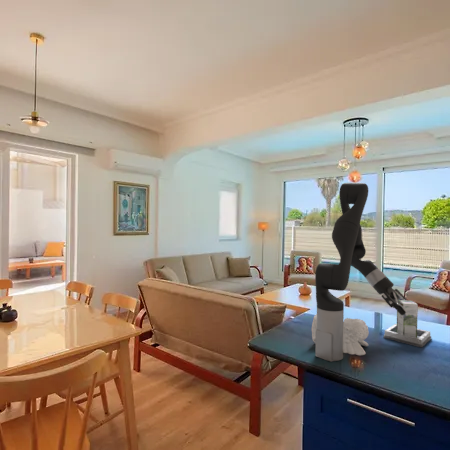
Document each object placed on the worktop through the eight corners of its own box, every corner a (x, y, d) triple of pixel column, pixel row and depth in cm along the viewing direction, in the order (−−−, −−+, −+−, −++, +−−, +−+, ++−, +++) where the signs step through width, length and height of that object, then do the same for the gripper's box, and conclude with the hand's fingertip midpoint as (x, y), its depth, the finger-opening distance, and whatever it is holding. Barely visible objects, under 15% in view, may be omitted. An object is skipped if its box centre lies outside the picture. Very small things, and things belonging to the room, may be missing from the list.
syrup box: (410, 333, 130) (410, 300, 130) (417, 338, 124) (418, 303, 124) (396, 333, 131) (396, 299, 131) (403, 338, 125) (403, 303, 125)
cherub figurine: (320, 311, 130) (370, 314, 119) (322, 340, 129) (374, 346, 118) (309, 317, 119) (364, 321, 108) (312, 350, 118) (368, 357, 107)
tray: (421, 347, 118) (421, 340, 118) (383, 337, 128) (383, 330, 128) (431, 338, 127) (431, 331, 127) (394, 330, 138) (395, 323, 138)
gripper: (379, 277, 129) (409, 310, 121) (391, 274, 139) (419, 304, 130) (366, 288, 133) (394, 320, 125) (379, 284, 143) (405, 314, 134)
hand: (407, 312), depth 128 cm, fingers open, 8 cm apart
